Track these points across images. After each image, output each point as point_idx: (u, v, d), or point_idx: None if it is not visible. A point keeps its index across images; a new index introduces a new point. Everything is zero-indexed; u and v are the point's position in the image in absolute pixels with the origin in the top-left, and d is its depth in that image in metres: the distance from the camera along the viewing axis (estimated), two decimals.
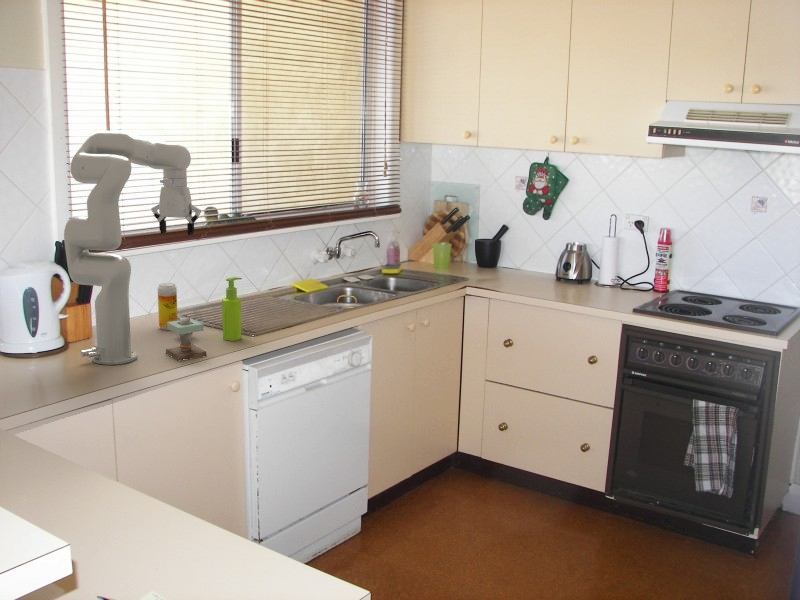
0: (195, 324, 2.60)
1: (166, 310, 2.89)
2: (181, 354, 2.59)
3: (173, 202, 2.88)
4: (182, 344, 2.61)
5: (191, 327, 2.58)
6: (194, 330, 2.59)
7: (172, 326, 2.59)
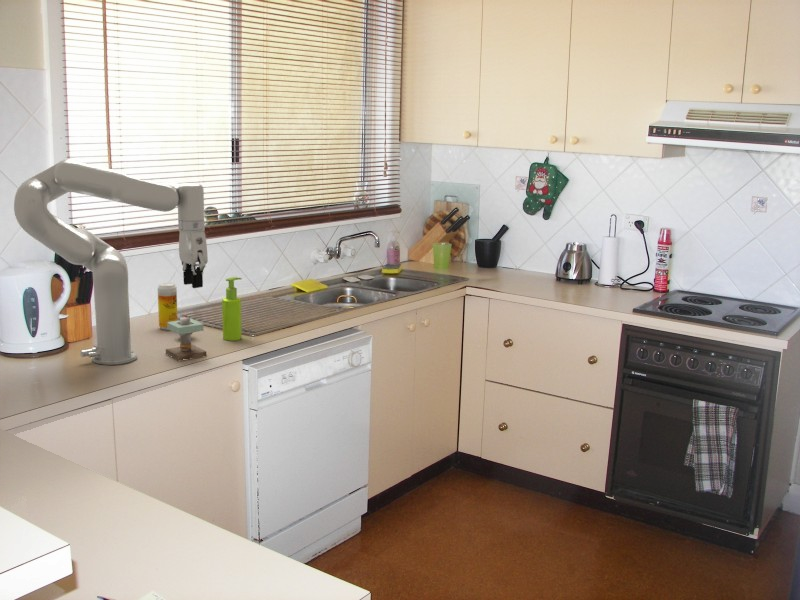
0: (195, 324, 2.60)
1: (166, 310, 2.89)
2: (181, 354, 2.59)
3: None
4: (182, 344, 2.61)
5: (191, 327, 2.58)
6: (194, 330, 2.59)
7: (172, 326, 2.59)
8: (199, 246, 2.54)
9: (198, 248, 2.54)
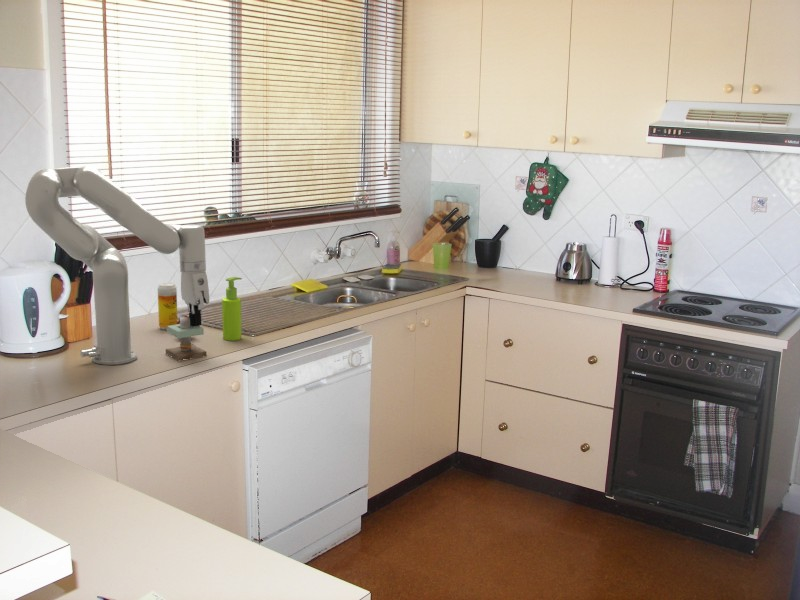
0: (195, 328, 2.60)
1: (166, 310, 2.89)
2: (181, 354, 2.59)
3: None
4: (182, 344, 2.61)
5: (191, 331, 2.59)
6: (194, 334, 2.59)
7: (172, 330, 2.59)
8: (201, 287, 2.57)
9: (200, 289, 2.56)
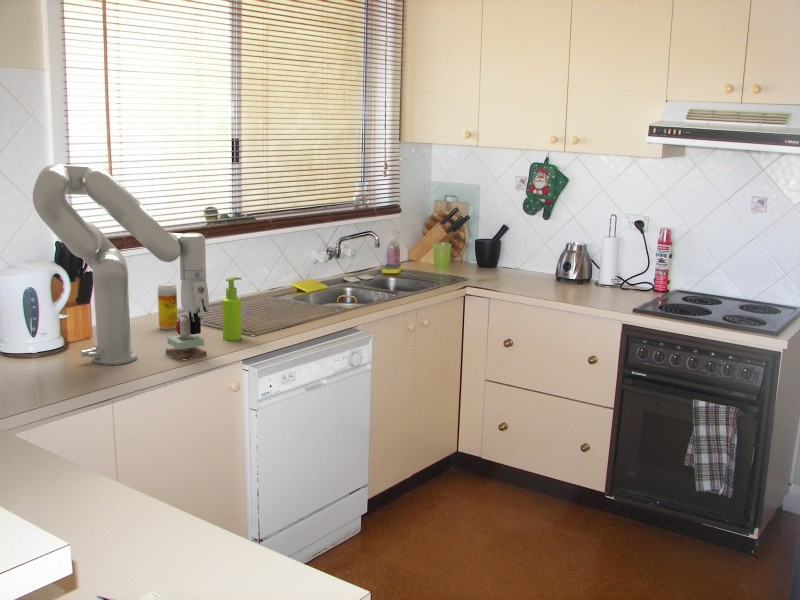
0: (195, 339, 2.61)
1: (166, 310, 2.89)
2: (181, 354, 2.59)
3: None
4: None
5: (191, 342, 2.59)
6: (194, 345, 2.60)
7: (173, 341, 2.60)
8: (201, 295, 2.57)
9: (200, 297, 2.57)
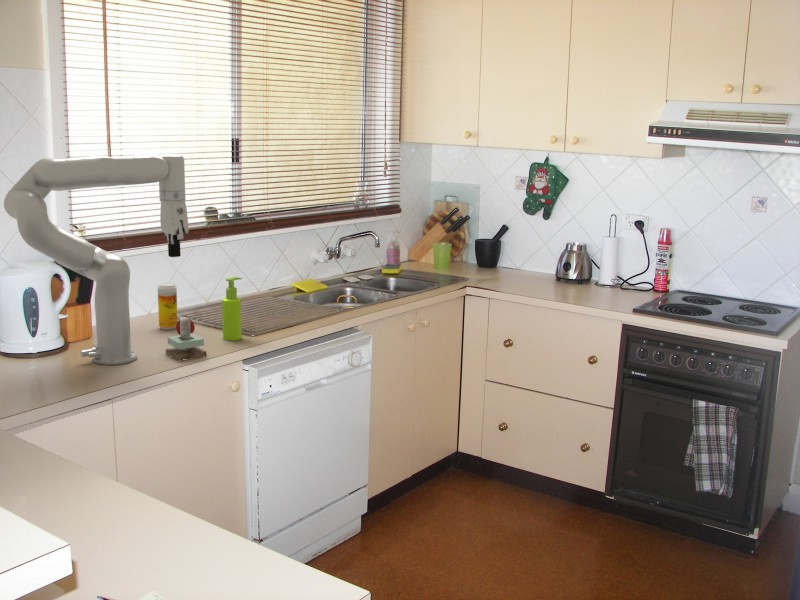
0: (195, 339, 2.61)
1: (166, 310, 2.89)
2: (181, 354, 2.59)
3: None
4: None
5: (191, 342, 2.59)
6: (194, 345, 2.60)
7: (173, 341, 2.60)
8: (180, 216, 2.57)
9: (179, 218, 2.57)
